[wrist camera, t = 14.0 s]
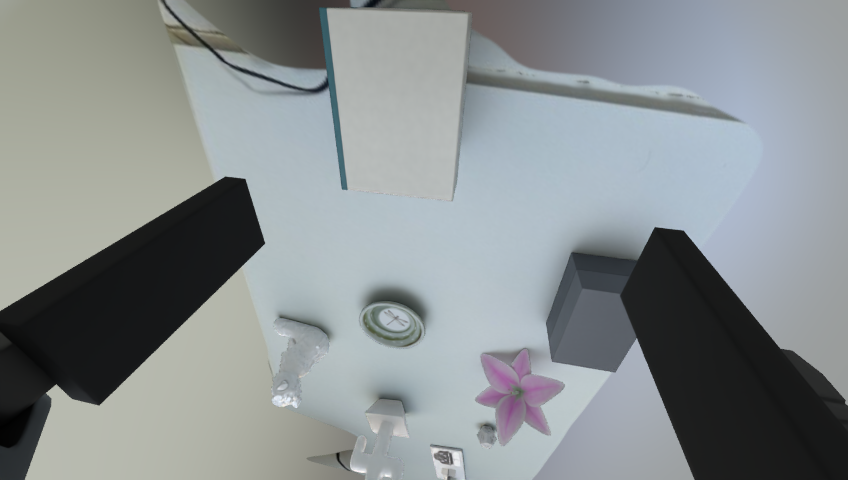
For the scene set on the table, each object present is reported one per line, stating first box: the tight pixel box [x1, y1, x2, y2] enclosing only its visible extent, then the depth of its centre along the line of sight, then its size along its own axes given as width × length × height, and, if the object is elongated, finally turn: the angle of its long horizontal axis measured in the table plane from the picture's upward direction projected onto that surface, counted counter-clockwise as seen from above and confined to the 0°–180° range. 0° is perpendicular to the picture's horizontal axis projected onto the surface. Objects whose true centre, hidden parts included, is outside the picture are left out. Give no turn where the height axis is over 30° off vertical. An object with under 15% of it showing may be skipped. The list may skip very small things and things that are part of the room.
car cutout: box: [430, 445, 466, 480], centre depth 72 cm, size 15×7×4 cm, turn 7°
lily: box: [475, 348, 565, 446], centre depth 48 cm, size 12×12×10 cm
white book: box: [319, 8, 472, 201], centre depth 24 cm, size 12×9×4 cm
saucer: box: [359, 301, 425, 349], centre depth 48 cm, size 10×10×2 cm
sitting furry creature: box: [271, 318, 330, 408], centre depth 51 cm, size 10×9×12 cm
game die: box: [477, 426, 497, 449], centre depth 61 cm, size 4×4×3 cm
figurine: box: [350, 399, 409, 480], centre depth 58 cm, size 7×9×15 cm
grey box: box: [546, 253, 637, 372], centre depth 38 cm, size 12×7×6 cm, turn 178°
